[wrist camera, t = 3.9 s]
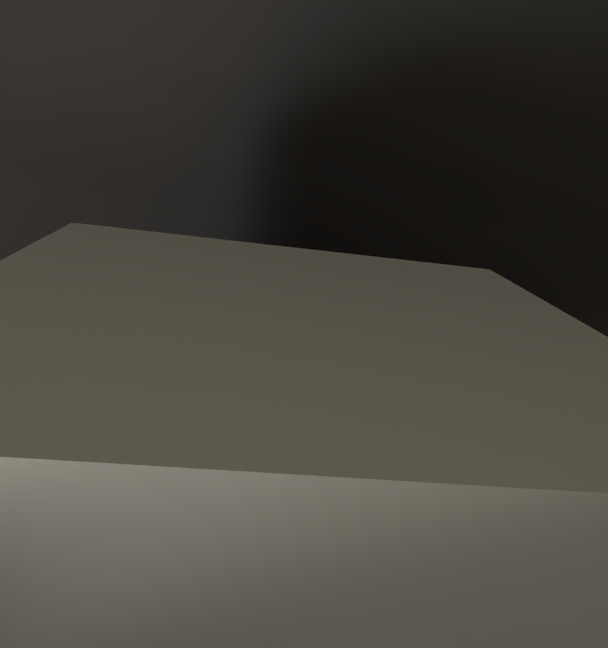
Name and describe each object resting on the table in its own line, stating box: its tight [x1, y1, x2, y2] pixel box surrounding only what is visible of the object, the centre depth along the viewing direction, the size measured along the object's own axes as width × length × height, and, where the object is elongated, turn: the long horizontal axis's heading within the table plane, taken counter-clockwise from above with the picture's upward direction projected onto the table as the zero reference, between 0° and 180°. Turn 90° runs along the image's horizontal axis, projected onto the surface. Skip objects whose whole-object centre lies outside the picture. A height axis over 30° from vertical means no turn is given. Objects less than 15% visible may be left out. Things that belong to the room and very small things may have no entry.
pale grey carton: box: [0, 223, 608, 648], centre depth 7 cm, size 6×8×6 cm
